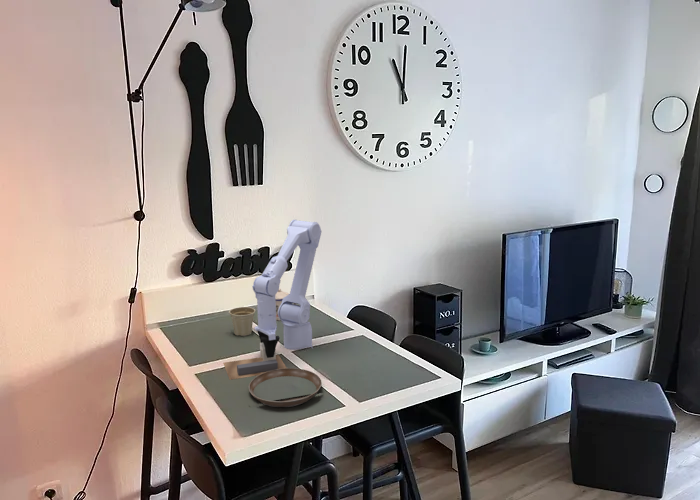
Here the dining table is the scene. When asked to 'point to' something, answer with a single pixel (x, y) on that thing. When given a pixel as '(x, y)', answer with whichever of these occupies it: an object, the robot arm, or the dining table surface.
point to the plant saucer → (280, 373)
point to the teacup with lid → (280, 300)
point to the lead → (257, 367)
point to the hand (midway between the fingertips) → (268, 353)
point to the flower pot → (242, 320)
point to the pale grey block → (263, 353)
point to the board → (232, 366)
